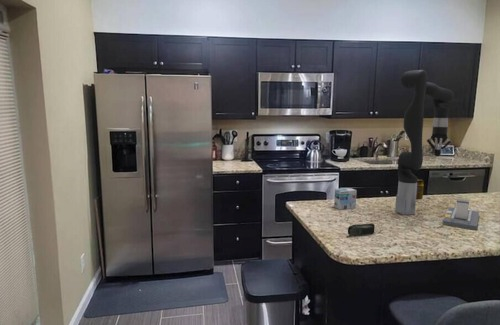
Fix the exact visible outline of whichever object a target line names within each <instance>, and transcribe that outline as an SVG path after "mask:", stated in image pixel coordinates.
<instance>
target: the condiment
mask: <svg viewBox="0 0 500 325" xmlns="http://www.w3.org/2000/svg"><path fill="white" fill-rule="evenodd" d="M424 187H425V186H424V180H423V179H419V178H418V180H417V192H416V201H422V200H424V199H425V197H424Z"/></svg>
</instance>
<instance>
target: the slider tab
mask: <svg viewBox="0 0 500 325" xmlns="http://www.w3.org/2000/svg"><path fill="white" fill-rule="evenodd" d="M470 202H471V201H470V200H469V199H464V198H463V199H461V198H456V206H455V207H456V215H455V218H461V219H467V217H468V210H469V209H470V207H469V206H470Z"/></svg>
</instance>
